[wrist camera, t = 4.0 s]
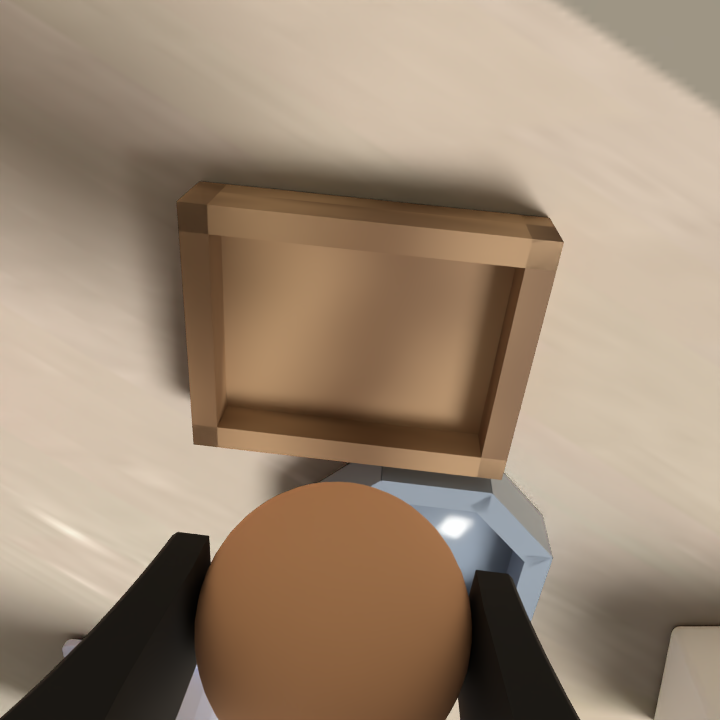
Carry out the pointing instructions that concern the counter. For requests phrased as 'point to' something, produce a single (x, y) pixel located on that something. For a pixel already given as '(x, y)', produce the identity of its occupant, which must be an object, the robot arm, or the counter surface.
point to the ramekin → (472, 521)
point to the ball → (333, 612)
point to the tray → (360, 326)
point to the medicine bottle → (691, 675)
